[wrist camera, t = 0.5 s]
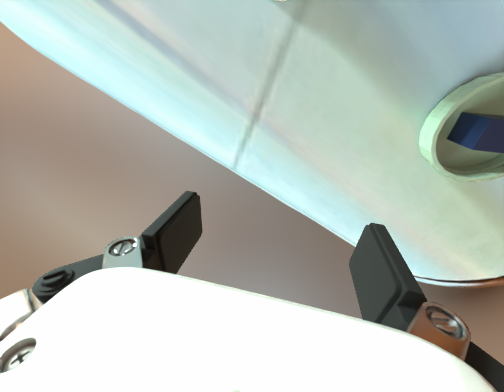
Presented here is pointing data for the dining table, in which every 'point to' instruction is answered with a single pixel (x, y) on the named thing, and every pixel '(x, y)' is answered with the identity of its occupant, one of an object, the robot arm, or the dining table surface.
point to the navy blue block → (479, 132)
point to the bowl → (443, 120)
